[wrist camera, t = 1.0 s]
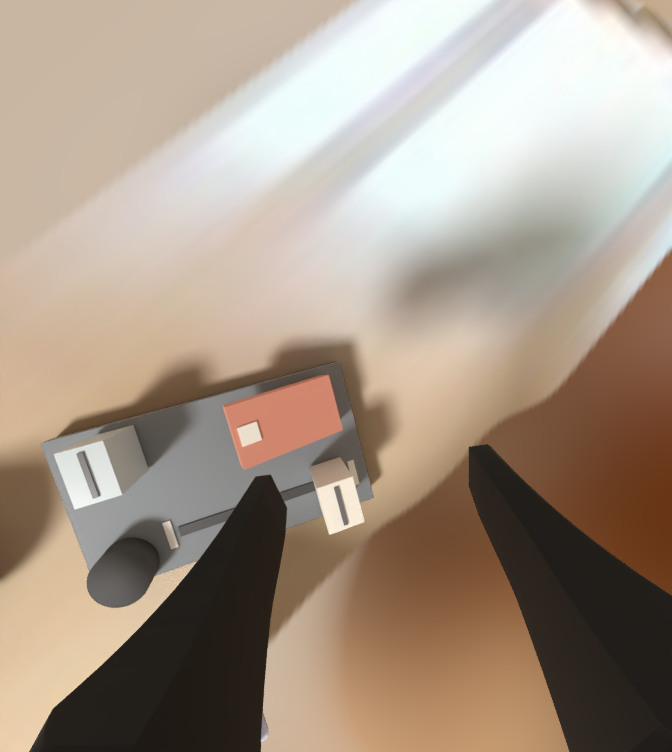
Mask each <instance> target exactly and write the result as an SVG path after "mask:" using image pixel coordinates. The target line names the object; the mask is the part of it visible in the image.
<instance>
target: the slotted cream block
mask: <svg viewBox="0 0 672 752" xmlns="http://www.w3.org/2000/svg"><path fill="white" fill-rule="evenodd" d="M310 471H311V475H312V478H313V482H314V485H315V489H316V493H317V496H318V500H319V503H320V507H321V510H322V513H323V517H324V520H325V523H326V526H327V529H328V532H329V535H331V534H334V533H336V532H339V531H342V530H344V529H347V528H350V527H352V526H355V525H358V524H361V523H363V522H364V518H363V514H362V510H361V506H360V502H359V498H358V495H357V491H356V487H355V483H354V479H353V476H352V474H351V473H350V471H349V470H348V468H347V467H346V465H345V464H344V462H343V461H342V459H341V458H340V457H338V458H335V459H332V460H329V461H326V462H323V463H320V464H317V465H314V466H311V467H310Z"/></svg>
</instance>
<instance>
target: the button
mask: <svg viewBox="0 0 672 752" xmlns="http://www.w3.org/2000/svg"><path fill="white" fill-rule="evenodd" d="M158 567H159V555H158V552H157V550H156V549H155V547H154V546H153V545H152V544H150V543H149V542H147V541H145V540H143V539H138V538H127V539H123V540H120V541H118V542H116V543H114V544H113V545H111V546H110V547H109V548H108V549H107V550H106V551H105V553H104V554H103V555H102V556H101V557H100V559H99V560H98V561H97V562H96V563H95V564H94V566H93V567H92V568H91V570H90V572H89V574H88V577H87V589H88V592H89V594H90V596H91V597H92V598H93V599H94V600H95V601H96V602H97V603H99V604H101V605H103V606H107V607H112V608H118V607H125V606H128V605H130V604H133V603H134V602H136V601H138V600H139V599H140V598H141V597H142V596H143V595H144V594H145V593H146V591H147V589H148V588H149V586H150V584H151V582H152V580H153V578H154V576H155V574H156V572H157V570H158Z"/></svg>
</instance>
